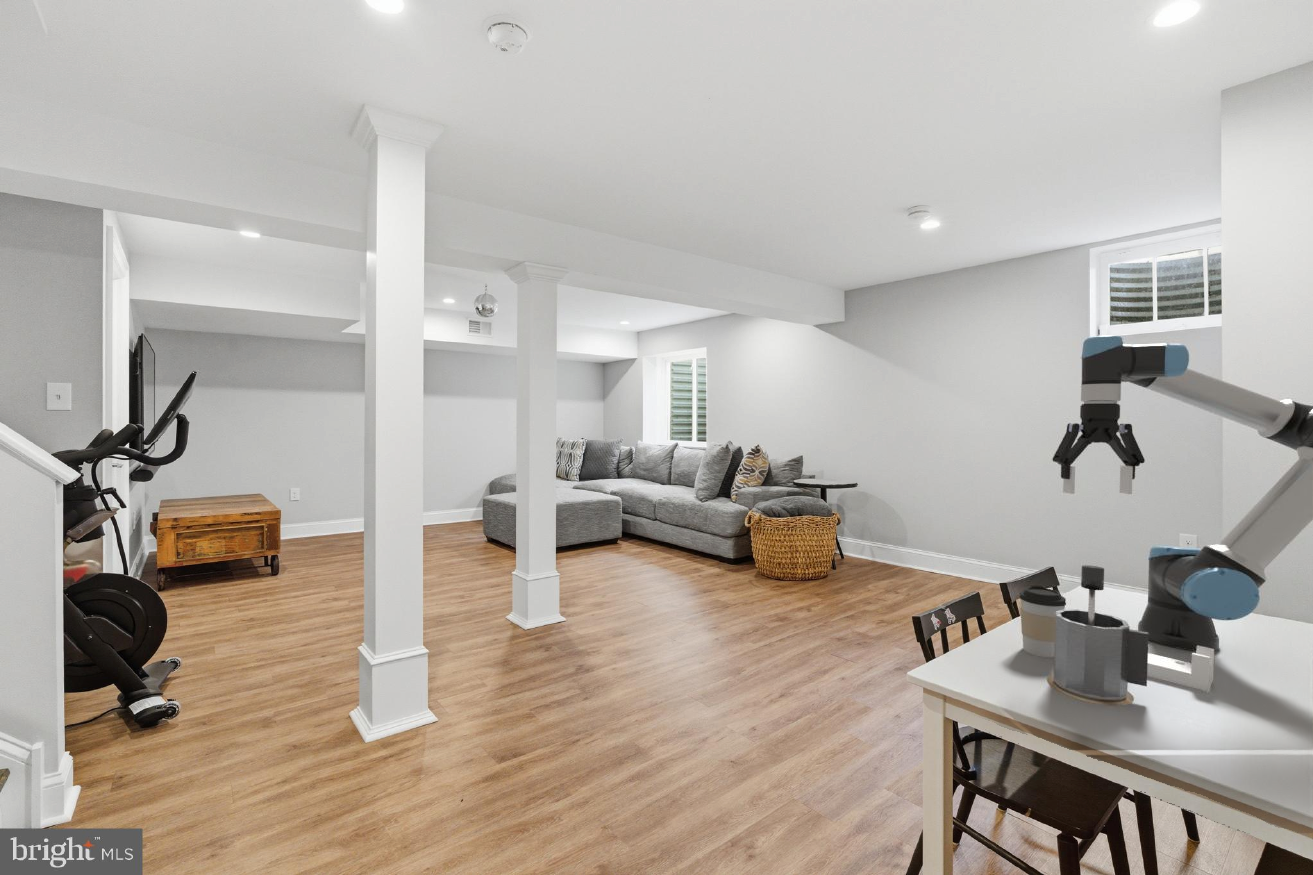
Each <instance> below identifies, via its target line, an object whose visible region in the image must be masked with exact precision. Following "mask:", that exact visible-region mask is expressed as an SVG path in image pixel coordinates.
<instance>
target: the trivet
mask: <svg viewBox="0 0 1313 875" xmlns="http://www.w3.org/2000/svg"><path fill="white" fill-rule="evenodd" d="M1053 678H1054V674H1050V675H1049V676H1047V678H1046V682H1047V684H1048V686H1050V687H1051V688H1053V689H1054V690H1056V691H1057V692H1059V693H1061V694H1063V695H1065V696H1068V697H1070V698H1074V699H1077V700H1080V701H1083V702H1087V703H1093V704H1098V705H1103V706H1104V705H1105V706H1127V705H1130V704H1132V703H1133V702H1134V699H1135V697H1134V695H1133V694H1132V693H1131V691H1129V690H1127V698H1126V700H1124V701H1121V702H1100V701H1093V700H1089V699H1085V698H1081V697H1078V696H1075V695H1072V694H1070V693H1067V692H1065V691H1063V690H1061V689H1060V688H1058V687H1057V686H1056V685H1055V684H1054V682H1053Z"/></svg>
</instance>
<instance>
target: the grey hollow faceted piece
mask: <svg viewBox="0 0 1313 875" xmlns="http://www.w3.org/2000/svg"><path fill="white" fill-rule="evenodd" d="M1148 637H1149V634H1148V632H1143V631H1138V629H1137V630H1136V629H1131V626H1130V625H1129V623H1128V621H1127V620H1124V619H1122V618H1119V617H1118V616H1114V615H1110V614H1107V613H1102V612H1097V611H1095V615H1094V626H1090V625H1088V610H1084V609H1073V608H1071V609H1067V608H1065V609H1063V610H1059V611H1056V612H1055V642H1054V657H1053V675H1054V678H1053V682H1054V684H1055V685H1056V686H1057V687H1058V688H1060V689H1061V690H1063V691H1065V692H1067V693H1070V694H1072V695H1075V696H1078V697H1081V698H1085V699H1089V700H1093V701H1100V702H1121V701H1124V700H1126V698H1127V691H1128V688H1129V687H1128V686H1129V685H1128V684H1133V685H1138V686H1142V687H1147V686H1148V676H1147V665H1148V653H1149V640H1148Z"/></svg>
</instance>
